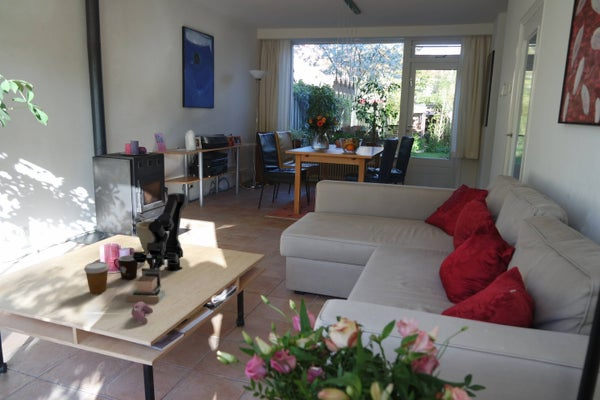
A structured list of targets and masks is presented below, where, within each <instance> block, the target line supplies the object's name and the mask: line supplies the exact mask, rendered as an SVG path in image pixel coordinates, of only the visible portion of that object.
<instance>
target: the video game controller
mask: <svg viewBox="0 0 600 400" xmlns="http://www.w3.org/2000/svg"><path fill="white" fill-rule="evenodd" d="M153 312H154V310H153V308H152V307H150V306H149V305H147V303H144V302H142V301H141V302H135V303H134V305H133V307H132V310H131V311H130V313H131V316H132V318H133V319H134V320H137V322H140V323H141V324H148V318H147V317H146V316H145V313H151V314H152V313H153Z"/></svg>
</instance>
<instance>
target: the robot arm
mask: <svg viewBox="0 0 600 400" xmlns="http://www.w3.org/2000/svg"><path fill="white" fill-rule="evenodd" d="M188 198H189V197H188V195H186V193H182V192H181V193H180V192H172V193H168V194H167V201H166V203H165V206H164V209H163V211H162V213H160V214H159V215H158V217H157V218H154V220H152V221H153V222H151V223H150V224H149V226H148V229H149V231H150V233H151V234H152V236H153V237H154V240H153V242H152V243H147V249H146V250H148V253H150V254H147V253H145V252H144V251H134V252H133V254H132V255H133V256H132V257H133V258H134V260H135V261H136V262H137V263H139V264H140V263H141V264H143V263H145V262H146V263H147V264H148V265H149V266H148V267H149V268H152V269H161V268H162V267H163V266H165V265H166V266H165V267H164V269H165V270H167V271H169V272H175V271H178V270H182V269H183V267H182V266H181V261H180V260H181V258H184V251H183V248H182V246H181V245H182V244H181V242H180V239H179V234H180V226H181V220H182V219H181V218H182V211H183V210H184V209H185V208H186V206H187V203H188ZM167 232H168V233H167ZM165 261H166V264H165Z"/></svg>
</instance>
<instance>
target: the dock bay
mask: <svg viewBox="0 0 600 400" xmlns="http://www.w3.org/2000/svg"><path fill="white" fill-rule="evenodd" d="M136 290H137V288H134V289H133V290H132V291H130V293H129V294H126V303H138V302H141V301H142V302H144V303H145V304H152V303H153V304H159V303H160V301H161V300H162V299H163V298H164V297H165V295H166V291H165V290H164V289H163V290H160V292H159V293H157V295H155V296H150V295H134V292H135V291H136Z"/></svg>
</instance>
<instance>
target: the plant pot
mask: <svg viewBox="0 0 600 400" xmlns="http://www.w3.org/2000/svg"><path fill="white" fill-rule="evenodd" d="M153 221H154V220H149V221H148V220H147V221H141V222H140V221H139V222H138V223H136V224H135V225H136V226H135V227H136V231H137V237H138V239H139V242H140V243H139V244H141V247H142V250H143V252H144V254H146V255H147V254H150V253H148V250H146V249H147V243H152V242H153V240H154V237H153V236H152V234H151V233H150V231H149V229H148V226H149V224H150V223H151V222H153Z"/></svg>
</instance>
